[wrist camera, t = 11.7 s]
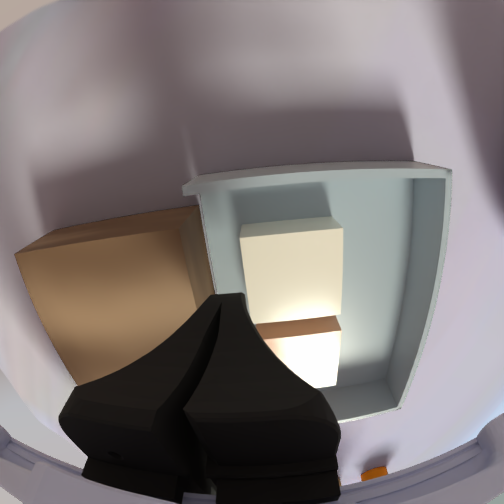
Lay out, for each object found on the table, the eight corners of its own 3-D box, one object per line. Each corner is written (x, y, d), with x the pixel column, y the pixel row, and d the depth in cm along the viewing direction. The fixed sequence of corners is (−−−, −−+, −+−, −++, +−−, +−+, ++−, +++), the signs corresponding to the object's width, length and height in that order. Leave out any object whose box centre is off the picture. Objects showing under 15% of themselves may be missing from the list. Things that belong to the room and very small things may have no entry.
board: (237, 392, 19) (234, 435, 16) (120, 388, 20) (105, 423, 16) (198, 205, 14) (178, 228, 10) (53, 230, 15) (14, 254, 11)
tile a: (263, 393, 16) (263, 371, 18) (335, 385, 16) (329, 363, 17) (256, 340, 14) (256, 318, 16) (341, 330, 14) (333, 309, 16)
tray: (386, 376, 19) (400, 408, 16) (241, 396, 19) (239, 433, 16) (414, 161, 13) (452, 169, 10) (199, 175, 13) (181, 185, 10)
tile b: (251, 324, 14) (251, 302, 16) (340, 314, 13) (331, 294, 15) (239, 238, 12) (241, 224, 14) (343, 228, 12) (331, 216, 14)
